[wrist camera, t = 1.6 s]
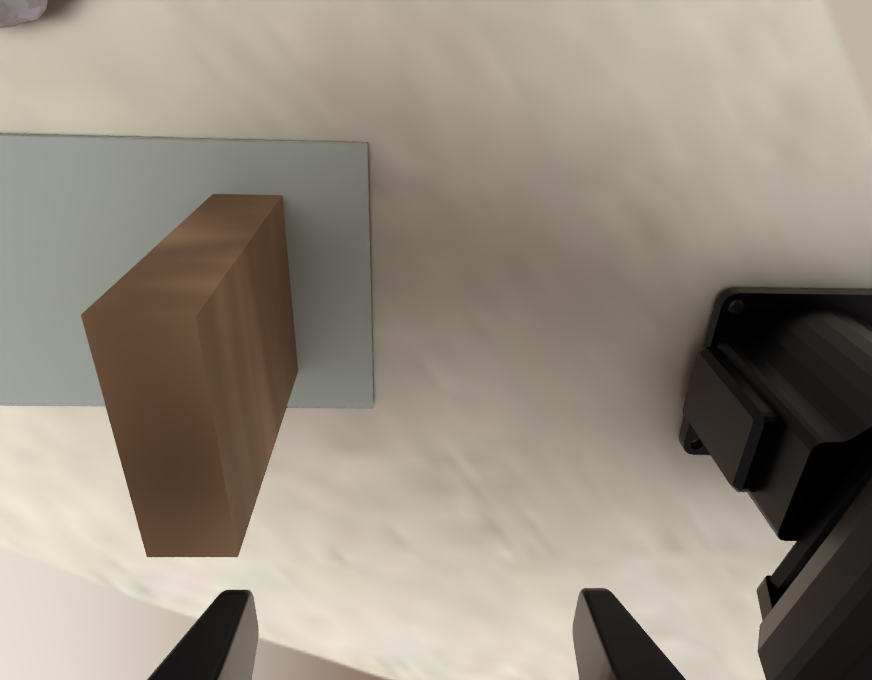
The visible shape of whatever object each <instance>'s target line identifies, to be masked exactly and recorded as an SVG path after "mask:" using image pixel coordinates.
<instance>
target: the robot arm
mask: <svg viewBox="0 0 872 680" xmlns="http://www.w3.org/2000/svg"><path fill="white" fill-rule="evenodd" d="M735 300H739V302H738V304H737V306H735V307H734V308H732V309H729V305H730V304H731V303H732V302H733V301H735ZM683 414H684V415H685V419H684V422H683V426H682V430H681V433H680V438H679V441H680V443H681V445H682V447H683V448H684V450H685V451H686V452H687V453H689V454H693V455H711V456H712V458H713V459H714V461H715V462H716V464H717V465H718V467H719V468H720V470H721V471H722V473H723V474H724V476H725V477H726V479H727V481H728V482H729V484H730V485H731V486H732V487H733V488H734V489H735V490H736V491H737V492H747V493H748V494H749V496H750V497H751V498H752V500H753V501H754V503H755V504H756V506H757V507H758V509H759V510H760V512H761V513H762V515H763V516H764V518H765V519H766V520H767V522H768V523H769V525H770V526H771V528H772V529H773V531H774V532H775V534H776V535H777V537H778V538H779V539H780V540H784V541H797V542H796V543H795V544H794V546H793V547H792V548H791V550H790V551H789V553H788V554H787V555H786V557H785V558H784V559H783V561H782V562H781V563H780V565H779V566H778V567H777V569H776V570H775V572H774V573H773V574H772V576H766V577H765V578H764V580H763V581H762V583H761V584H760V585H759V587H758V588H757V595H758V600H759V604H760V609H761V614H762V619H763V622H762V623H761V624H760V630H759V642H758V654H759V657H760V661H761V664H762V667H763V671H764V674H765V678H766V680H872V290H844V289H778V288H731V289H728V290H726V291H724V292H722V293H721V294H720V295H719V296H718V298H717V301H716V303H715V307H714V311H713V315H712V318H711V322H710V326H709V329H708V333H707V337H706V341H705V344H704V348H702V349H701V351H700V352H699V353H698V354H697V358H696V362H695V366H694V370H693V373H692V377H691V381H690V385H689V388H688V392H687V396H686V400H685V403H684V407H683ZM697 438H699V439H698V440H697V441H696V442H692V441H693V440H694V439H697ZM691 442H692V443H691ZM573 641H574V648H575V654H576V660H577V667H578V673H579V680H686V679H685V678H684V677H683V676H682V674H681V673H680V672H679V671H678V670H677V669H676V667H675V666H674V665H673V664H672V663H671V662H670V660H669V659H668V658H667V657H666V656H665V655H664V653H663V652H662V651H661V650H660V649H659V647H658V646H657V645H656V644H655V643H654V642H653V640H652V639H651V638H650V637H649V636H648V635H647V633H646V632H645V631H644V630H643V629H642V627H641V626H640V625H639V624H638V623H637V622H636V620H635V619H634V618H633V617H632V616H631V615H630V613H629V612H628V611H627V610H626V609H625V607H624V606H623V605H622V604H621V603H620V602H619V600H618V599H617V598H616V597H615V596H614V595H613V593H612V592H611V591H609V590H608V589H605V588H584V589H582V590H581V591H580V593H579V596H578V601H577V606H576V611H575V616H574V621H573ZM257 643H258V621H257V615H256V609H255V603H254V597H253V594H252V592H251V591H250V590H225V591H223V592H222V593H220V594H219V596H218V597H217V598H216V599H215V600H214V601H213V603H212V604H211V605H210V606H209V607H208V608H207V610H206V611H205V612H204V613H203V614H202V616H201V617H200V618H199V619H198V620H197V621H196V623H195V624H194V625H193V626H192V627H191V629H190V630H189V631H188V632H187V633H186V634H185V636H184V637H183V638H182V639H181V640H180V642H179V643H178V644H177V645H176V646H175V647H174V649H173V650H172V651H171V652H170V653H169V655H168V656H167V657H166V658H165V659H164V660H163V662H162V663H161V664H160V665H159V666H158V667H157V669H156V670H155V671H154V672H153V673H152V675H151V676H150V677H149V678H148V679H147V680H251V679H252V673H253V667H254V661H255V655H256V649H257Z"/></svg>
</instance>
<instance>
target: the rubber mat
mask: <svg viewBox="0 0 872 680" xmlns="http://www.w3.org/2000/svg"><path fill="white" fill-rule="evenodd" d="M212 194H245V195H282V198H283V209H284V220H285V231H286V242H287V253H288V264H289V275H290V286H291V297H292V308H293V319H294V330H295V341H296V352H297V363H298V373H297V377H296V380H295V383H294V386H293V389H292V392H291V395H290V398H289V401H288V404H287V407H286V408H373V406H374V390H373V348H372V306H371V264H370V222H369V179H368V142H334V141H292V140H250V139H208V138H166V137H124V136H83V135H41V134H0V405H4V406H106V405H105V402H104V398H103V395H102V391H101V387H100V384H99V380H98V376H97V373H96V369H95V365H94V362H93V358H92V354H91V351H90V347H89V343H88V340H87V336H86V332H85V329H84V325H83V321H82V318H81V314H82V313H83V312H84V311H85V310H87V309H88V308H89V307H90V306H91V305H92V304H93V303H94V302H95V301H96V300H97V299H99V298H100V297H101V296H102V295H103V294H104V293H105V292H106V291H107V290H108V289H110V288H111V287H112V286H113V285H114V284H115V283H116V282H117V281H118V280H119V279H120V278H122V277H123V276H124V275H125V274H126V273H127V272H128V271H129V270H130V269H131V268H132V267H134V266H135V265H136V264H137V263H138V262H139V261H140V260H141V259H142V258H143V257H144V256H146V255H147V254H148V253H149V252H150V251H151V250H152V249H153V248H154V247H155V246H156V245H158V244H159V243H160V242H161V241H162V240H163V239H164V238H165V237H166V236H167V235H168V234H170V233H171V232H172V231H173V230H174V229H175V228H176V227H177V226H178V225H179V224H180V223H182V222H183V221H184V220H185V219H186V218H187V217H188V216H189V215H190V214H191V213H192V212H194V211H195V210H196V209H197V208H198V207H199V206H200V205H201V204H202V203H203V202H204V201H206V200H207V199H208V198H209V197H210V196H211V195H212Z"/></svg>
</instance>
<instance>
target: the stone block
mask: <svg viewBox="0 0 872 680" xmlns="http://www.w3.org/2000/svg"><path fill="white" fill-rule="evenodd" d="M47 2H48V0H0V28H3V27H12V26H16V25H18V24H20V23H22V22H25V21H35V20H37V19H39V18H40V17H41V16H42V14H43V13H44V11H45V10H46V8H47Z"/></svg>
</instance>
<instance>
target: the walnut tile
mask: <svg viewBox="0 0 872 680" xmlns="http://www.w3.org/2000/svg"><path fill="white" fill-rule="evenodd" d="M81 318H82V321H83V325H84V329H85V332H86V336H87V340H88V343H89V347H90V351H91V354H92V358H93V362H94V365H95V369H96V373H97V376H98V380H99V384H100V387H101V391H102V395H103V398H104V402H105V405H106V409H107V413H108V416H109V420H110V424H111V427H112V431H113V435H114V438H115V442H116V446H117V449H118V453H119V457H120V460H121V464H122V468H123V471H124V475H125V478H126V482H127V486H128V489H129V493H130V497H131V500H132V504H133V508H134V511H135V515H136V519H137V522H138V526H139V530H140V533H141V537H142V541H143V544H144V548H145V551H146V555H147V557H238V555H239V552H240V549H241V546H242V543H243V540H244V536H245V533H246V530H247V527H248V524H249V521H250V518H251V515H252V512H253V509H254V506H255V503H256V500H257V496H258V493H259V490H260V487H261V484H262V481H263V478H264V475H265V472H266V469H267V466H268V463H269V460H270V456H271V453H272V450H273V447H274V444H275V441H276V438H277V435H278V432H279V429H280V426H281V423H282V420H283V417H284V413H285V410H286V407H287V404H288V401H289V398H290V395H291V392H292V389H293V386H294V383H295V380H296V377H297V373H298V363H297V352H296V341H295V330H294V319H293V308H292V297H291V286H290V275H289V264H288V253H287V242H286V231H285V220H284V209H283V198H282V195H245V194H212V195H211V196H210V197H209V198H208V199H207V200H206V201H204V202H203V203H202V204H201V205H200V206H199V207H198V208H197V209H196V210H195V211H194V212H192V213H191V214H190V215H189V216H188V217H187V218H186V219H185V220H184V221H183V222H182V223H180V224H179V225H178V226H177V227H176V228H175V229H174V230H173V231H172V232H171V233H170V234H168V235H167V236H166V237H165V238H164V239H163V240H162V241H161V242H160V243H159V244H158V245H156V246H155V247H154V248H153V249H152V250H151V251H150V252H149V253H148V254H147V255H146V256H144V257H143V258H142V259H141V260H140V261H139V262H138V263H137V264H136V265H135V266H134V267H132V268H131V269H130V270H129V271H128V272H127V273H126V274H125V275H124V276H123V277H122V278H120V279H119V280H118V281H117V282H116V283H115V284H114V285H113V286H112V287H111V288H110V289H108V290H107V291H106V292H105V293H104V294H103V295H102V296H101V297H100V298H99V299H97V300H96V301H95V302H94V303H93V304H92V305H91V306H90V307H89V308H88V309H87V310H85V311H84V312H83V313H82V314H81Z"/></svg>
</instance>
